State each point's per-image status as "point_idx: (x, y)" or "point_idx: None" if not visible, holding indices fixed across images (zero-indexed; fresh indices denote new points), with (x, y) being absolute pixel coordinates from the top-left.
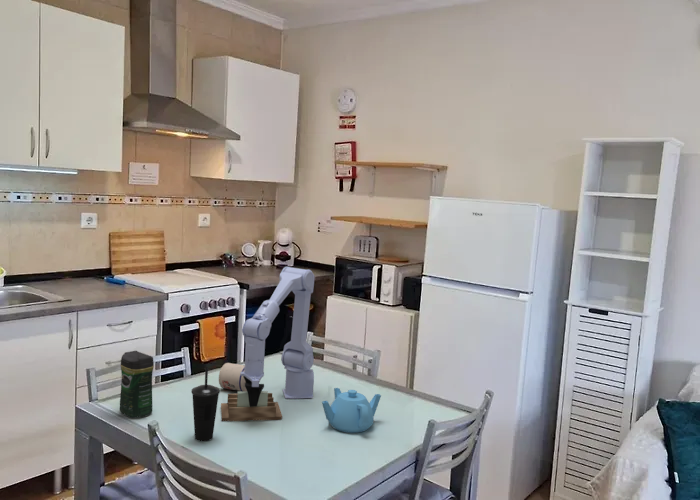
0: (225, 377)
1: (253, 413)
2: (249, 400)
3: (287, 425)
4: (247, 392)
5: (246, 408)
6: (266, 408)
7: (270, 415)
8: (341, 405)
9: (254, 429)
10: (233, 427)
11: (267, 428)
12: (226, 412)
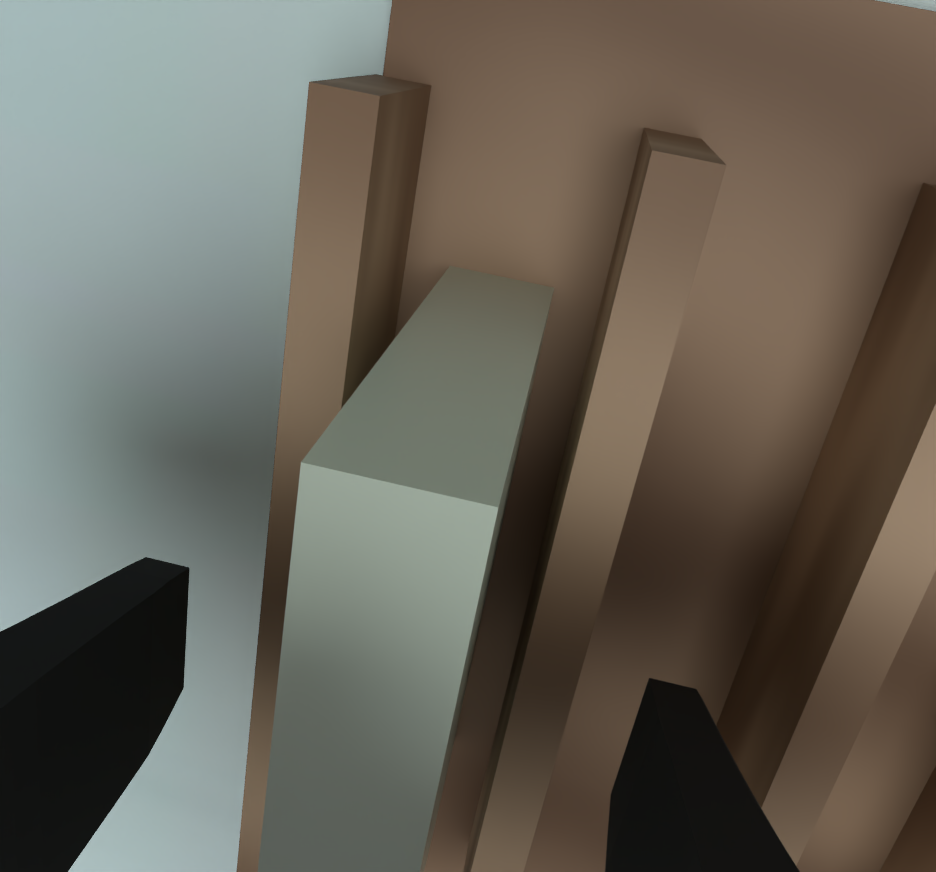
0: None
1: None
2: (27, 626)
3: (118, 814)
4: (337, 755)
5: (279, 482)
6: (252, 793)
7: None
8: None
9: (15, 413)
10: (109, 105)
11: (42, 583)
12: (696, 96)
